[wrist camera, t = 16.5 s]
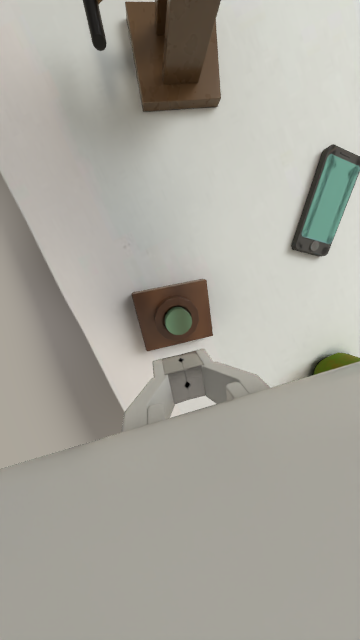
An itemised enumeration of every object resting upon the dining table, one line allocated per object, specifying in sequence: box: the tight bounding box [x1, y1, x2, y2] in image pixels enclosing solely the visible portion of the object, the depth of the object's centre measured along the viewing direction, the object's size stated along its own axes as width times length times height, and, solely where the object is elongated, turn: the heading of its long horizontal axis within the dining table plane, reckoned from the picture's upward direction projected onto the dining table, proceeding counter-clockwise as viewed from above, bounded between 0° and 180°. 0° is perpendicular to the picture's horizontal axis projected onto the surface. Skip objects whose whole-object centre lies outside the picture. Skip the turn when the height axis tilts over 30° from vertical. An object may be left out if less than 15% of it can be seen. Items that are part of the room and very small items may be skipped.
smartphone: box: [292, 144, 360, 256], centre depth 29 cm, size 7×1×15 cm
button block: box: [132, 279, 213, 351], centre depth 28 cm, size 12×10×4 cm
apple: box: [314, 353, 360, 375], centre depth 36 cm, size 12×12×11 cm
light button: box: [165, 307, 192, 335], centre depth 26 cm, size 4×4×2 cm
